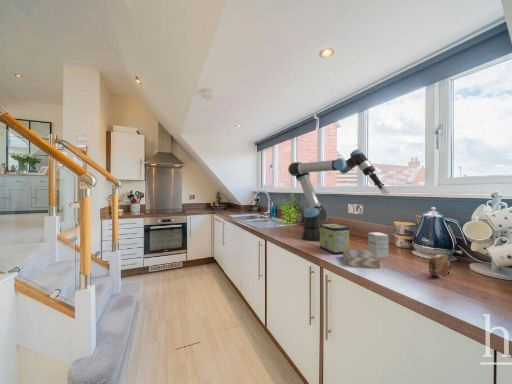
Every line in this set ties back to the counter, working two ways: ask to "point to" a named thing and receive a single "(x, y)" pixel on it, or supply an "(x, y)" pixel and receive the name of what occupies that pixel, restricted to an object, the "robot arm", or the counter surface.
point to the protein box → (334, 238)
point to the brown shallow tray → (361, 258)
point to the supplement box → (378, 244)
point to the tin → (439, 265)
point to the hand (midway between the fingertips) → (386, 193)
